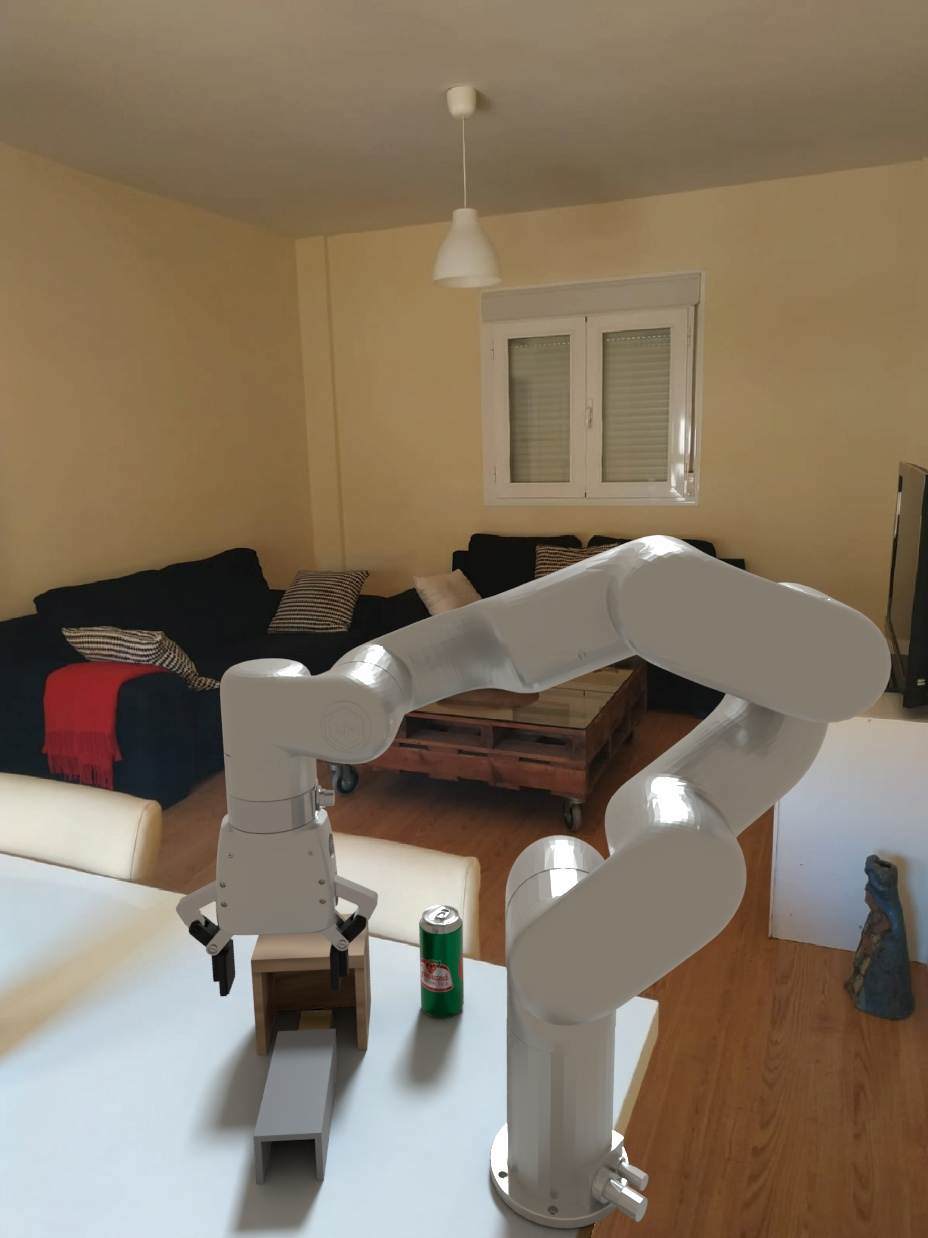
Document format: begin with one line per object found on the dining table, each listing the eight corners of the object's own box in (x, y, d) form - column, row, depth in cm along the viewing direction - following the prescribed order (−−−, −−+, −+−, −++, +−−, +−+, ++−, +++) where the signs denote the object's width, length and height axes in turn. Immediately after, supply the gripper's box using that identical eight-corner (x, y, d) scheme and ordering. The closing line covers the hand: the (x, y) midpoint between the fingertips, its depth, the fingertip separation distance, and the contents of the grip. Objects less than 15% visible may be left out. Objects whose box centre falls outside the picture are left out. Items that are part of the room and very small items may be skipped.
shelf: (367, 1049, 95) (363, 955, 92) (257, 1055, 94) (250, 960, 92) (371, 1000, 103) (367, 913, 101) (269, 1005, 102) (264, 917, 100)
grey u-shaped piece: (323, 1180, 78) (321, 1133, 77) (256, 1184, 77) (253, 1136, 76) (337, 1070, 91) (335, 1028, 90) (280, 1073, 91) (278, 1031, 90)
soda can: (413, 1013, 101) (410, 919, 98) (434, 989, 105) (432, 899, 103) (450, 1026, 98) (449, 930, 96) (471, 1001, 103) (470, 909, 100)
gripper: (377, 785, 77) (381, 957, 81) (181, 790, 76) (194, 963, 80) (372, 821, 70) (378, 1008, 73) (156, 827, 69) (172, 1016, 72)
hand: (282, 984), depth 76 cm, fingers open, 9 cm apart
